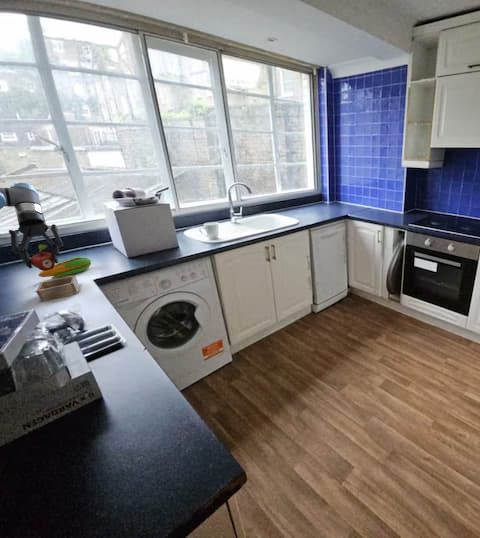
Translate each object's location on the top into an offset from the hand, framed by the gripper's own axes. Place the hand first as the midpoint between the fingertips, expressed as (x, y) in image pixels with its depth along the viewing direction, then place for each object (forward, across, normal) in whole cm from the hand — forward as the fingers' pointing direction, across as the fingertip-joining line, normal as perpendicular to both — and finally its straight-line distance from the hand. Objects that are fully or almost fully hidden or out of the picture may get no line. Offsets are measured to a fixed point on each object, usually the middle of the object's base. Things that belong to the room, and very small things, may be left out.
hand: (42, 264), depth 116 cm
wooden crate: (+7, 0, -14) cm, 16 cm away
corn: (-10, -1, -32) cm, 34 cm away
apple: (0, 0, -5) cm, 5 cm away
